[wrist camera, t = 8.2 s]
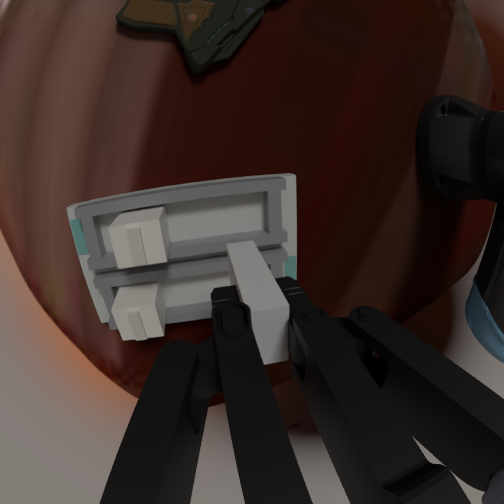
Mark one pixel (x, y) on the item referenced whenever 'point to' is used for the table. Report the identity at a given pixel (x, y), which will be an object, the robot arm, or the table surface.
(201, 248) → the switch plate
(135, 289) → the tab
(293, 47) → the table surface
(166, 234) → the tab
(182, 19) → the firearm
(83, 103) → the table surface
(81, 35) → the table surface
